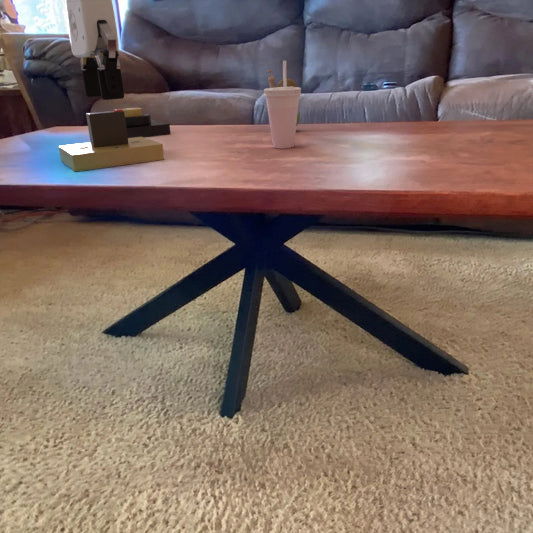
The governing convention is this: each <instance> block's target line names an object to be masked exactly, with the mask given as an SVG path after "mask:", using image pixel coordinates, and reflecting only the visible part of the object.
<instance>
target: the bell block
mask: <svg viewBox="0 0 533 533" xmlns="http://www.w3.org/2000/svg"><path fill="white" fill-rule="evenodd" d="M142 115H143V116H135V117H125V121H126V128H127V135H128V138H134V137H144V138H151V137H161V136H169V135H171V127H170V126H171V125H170V123H169V122H168V123H167V122H163V121H160V120H156V119H151V114H150V113H142Z"/></svg>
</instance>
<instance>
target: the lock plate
mask: <svg viewBox="0 0 533 533" xmlns="http://www.w3.org/2000/svg"><path fill="white" fill-rule="evenodd" d="M58 150H59V156H60V161H61V162H62V163H63V164H64V165H66V166H67V167H68V168H70V170H72V171H73V172H84V171H91V170H98V169H105V168H113V167H121V166H127V165H134V164H141V163H149V162H156V161H164V160H165V154H164V146H163V143H161V142H158V141H155V140H153V139H150V138H148V137H134V138H128V144H119V145H111V146H102V147H93V146H91V142H83V143H74V144H73V143H72V144H65V145H64V144H63V145H59V146H58Z"/></svg>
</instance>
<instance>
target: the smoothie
mask: <svg viewBox="0 0 533 533" xmlns="http://www.w3.org/2000/svg"><path fill="white" fill-rule="evenodd" d="M287 78H288V77H287V60H282V79H283V87H277V86H276V88H270V87H267V88H264V89H263V96H264V97H265V100H266V101H265V102H266V108H267V114H268V122H269V127H270V128H269V129H270V135H271V142H272V148H274V149H292V148H294V147H295V142H296V132H297V126H296V124H297V114H298V113H299V104H300V95H302V88H301V87H300V86H299V87H298V86H297V87H287ZM291 147H292V148H291Z"/></svg>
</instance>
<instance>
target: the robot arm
mask: <svg viewBox="0 0 533 533" xmlns="http://www.w3.org/2000/svg"><path fill="white" fill-rule="evenodd" d="M64 2H65V3H64V4H65V12H66V19H67V28H68V34H69V35H68V36H69V42H70V49H71V53H72V55H73V56H74V57H75V58H80V68H81V77H82V81H83V87H84V94H85V96H86V97H87V98H93V97H101V99H102V100H104V101H109V100H111V101H112V100H123V99H124V98H125V92H124V84H123V76H122V71H121V63H120V59H119V56H120V53H119V50H120V48H119V47H120V46H119V36H118V28H117V22H116V16H115V11H114V5H113V0H64Z"/></svg>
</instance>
